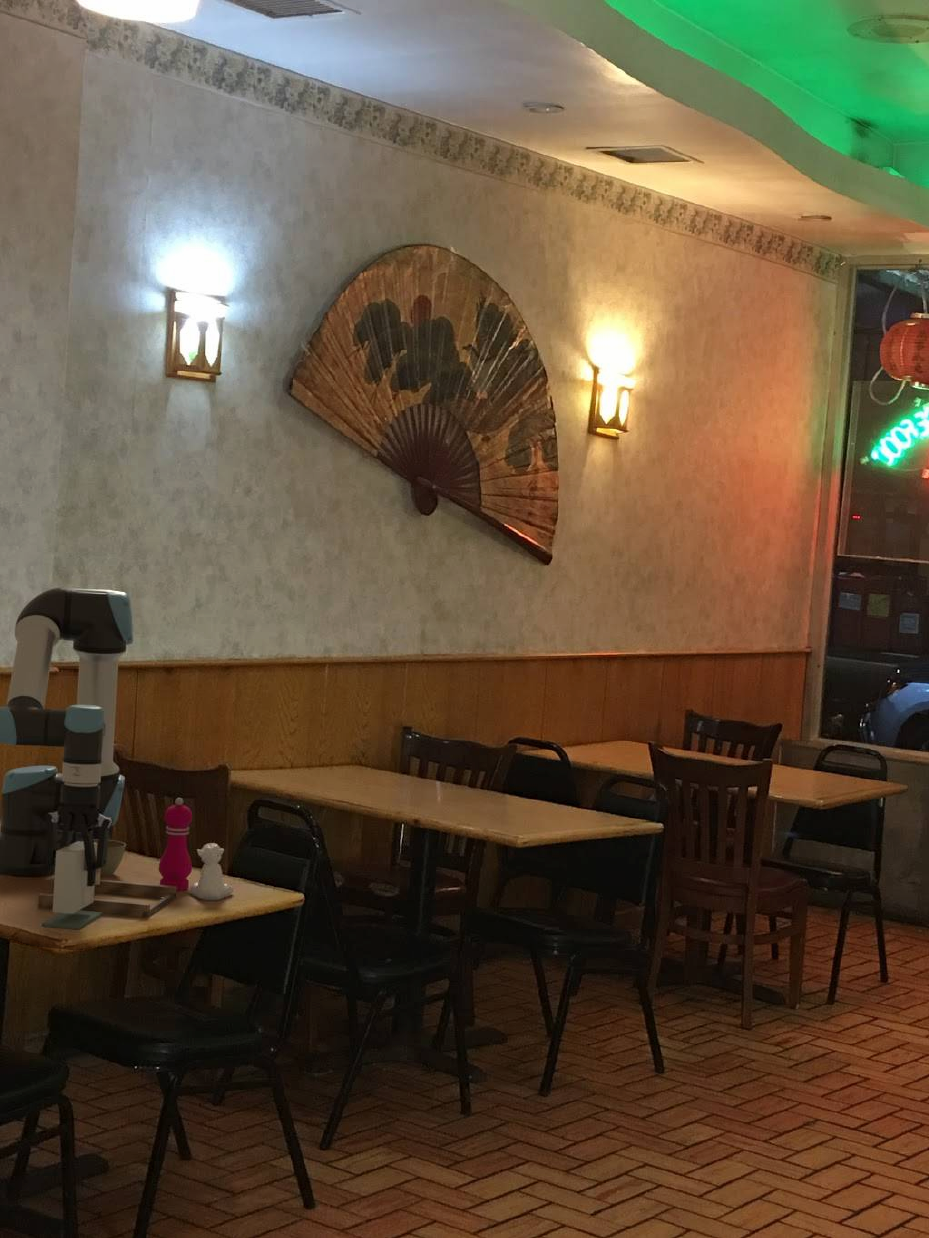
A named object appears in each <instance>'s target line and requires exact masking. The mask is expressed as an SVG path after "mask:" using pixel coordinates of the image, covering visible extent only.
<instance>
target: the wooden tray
mask: <svg viewBox="0 0 929 1238" xmlns="http://www.w3.org/2000/svg"><path fill="white" fill-rule="evenodd" d="M177 892H178V891H177V887H176V886H165V885H160V884H153V883H144V882H132V881H131V882H130V881H123V880H122V881H121V880H111V879H101V878H100V884H99V885H95V886H94V893H102V894H103V893H104V894H110V893H111V894H113V895H121V894H122V895H121V896H131V895H132V896H133V897H141V898H152V897H164V898H160V899H159V900H157V901H156V902H154V903H152V904H150V903H148V902H147V903H146V902H136V901H125V900H115V899H103V898H96V897H95V898H94V902H93V903H91V904H89V905H87V906H86V907H84V908H82V909H80V910H84V911H94V912H103V914H107V915H108V914H110V915H116V916H117V915H119V916H127V917H129V916H130V917H139V918H149V917H150V916H152V915H153V914H154V912H155V911H156V910H158V909H159V908H161V907H162V908H164V907H165V906H166V904H167V903H168V904H169V902H170V901H171V902H172V900H173V899H174V898H176V899H177ZM53 897H54V892H53V893H51V894H50V893H39V894H38V902H37V908H43V907H44V908H45V909H46V908H47V909H53ZM174 900H175V899H174ZM174 900H173V901H174ZM171 902H170V903H171ZM168 904H167V905H168ZM163 906H164V907H163ZM162 908H161V909H162ZM159 910H160V909H159ZM159 910H158V911H159ZM156 912H157V911H156ZM156 912H155V913H156ZM152 913H153V914H152ZM151 914H152V915H151ZM148 916H149V917H148Z"/></svg>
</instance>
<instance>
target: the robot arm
mask: <svg viewBox="0 0 929 1238" xmlns="http://www.w3.org/2000/svg"><path fill="white" fill-rule="evenodd" d="M18 615H19V616H17V620H16V621H15V628H14V637H15V640H16V642H17V643H16V649H15V655H14V659H13V660H14V661H13V666H12V671H11V678H10V684H9V687H8V688H9V689H8V695H7V700H6V705H4V706H0V744H2V745H11V746H32V747H33V746H34V747H35V746H37V747H38V746H39V747H56V748H59V747H60V748H63V757H62V769H61V773H60V772H59V773H58V768H57V767H56V766H54V765H31V766H23V767H19V768H18V767H17V768H14V769H11V770H9V771H7V772H6V773H5V774H4V776H3V783H2V790H1V792H0V793H1V794H2V796H1V797H2V798H1V812H0V874H1V875H6V876H14V877H15V876H19V877H35V876H36V877H37V876H47V875H52V874H55V863H56V851H57V825H64V829H63V835H62V839H61V843H60V847H59V849H62V848H64V847H66V846H69V845H70V843H71V839H72V835H73V833H74V831H75V830H78V831H81V834H82V837H83V842H84V849H85V857H86V864H87V868H86V869H85V870H83V882H82V899H81V903H83V904H85V903H87V902H89V901H90V886H91V887H92V886H94V884H95V879H96V869H98V868H101V867H103V866H105V865H106V858H107V848H108V837H109V829H110V827H111V826H112V825H113V826H114V825H115V824H116V823H117V821H118V818H119V813H120V808H121V803H122V797H123V792H124V787H125V781H126V777H125V776H124V775H122V774H120V767H119V766H118V765H117V764H116V763H115V762H114V747H115V746H114V745H115V728H116V711H117V710H116V709H117V696H118V695H117V694H118V693H117V692H118V691H117V690H118V676H119V660H120V658H121V657H122V656H123V655H124V654H125V653H126V651H127V645H128V646H130V645H132V644H133V642H134V631H133V630H134V628H133V627H134V626H133V614H132V603H131V599H130V596H129V595H128V593H126V592H124V591H118V590H117V591H116V590H111V589H97V588H96V589H95V588H94V589H93V588H92V589H91V588H69V587H56V588H55V587H54V588H51V589H48V590H46V591H44V592H42V593H40V594H38V595H37V596H35V597H34V598H32V600H30V601H29V602H28V603H27V604H26V605H25V606H24V608H22V610H21V612H20V613H19V614H18ZM59 641H69V642H72V643H73V645H72V650H73V651H74V652H75V654H77V656H78V657H79V659H78V675H77V676H78V677H77V678H78V679H77V700H76V704H72V705H69V706H67V708H66V709H51V708H45V705H46V700H47V698H46V697H47V694H48V685H49V677H50V673H51V672H50V671H51V665H52V659H53V652H54V648H55V646H56V645H57V644H58V643H59ZM93 826H94V827H97V826H100V830H99V839H98V850H97V860H96V854H95V847H94V840H93Z"/></svg>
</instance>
